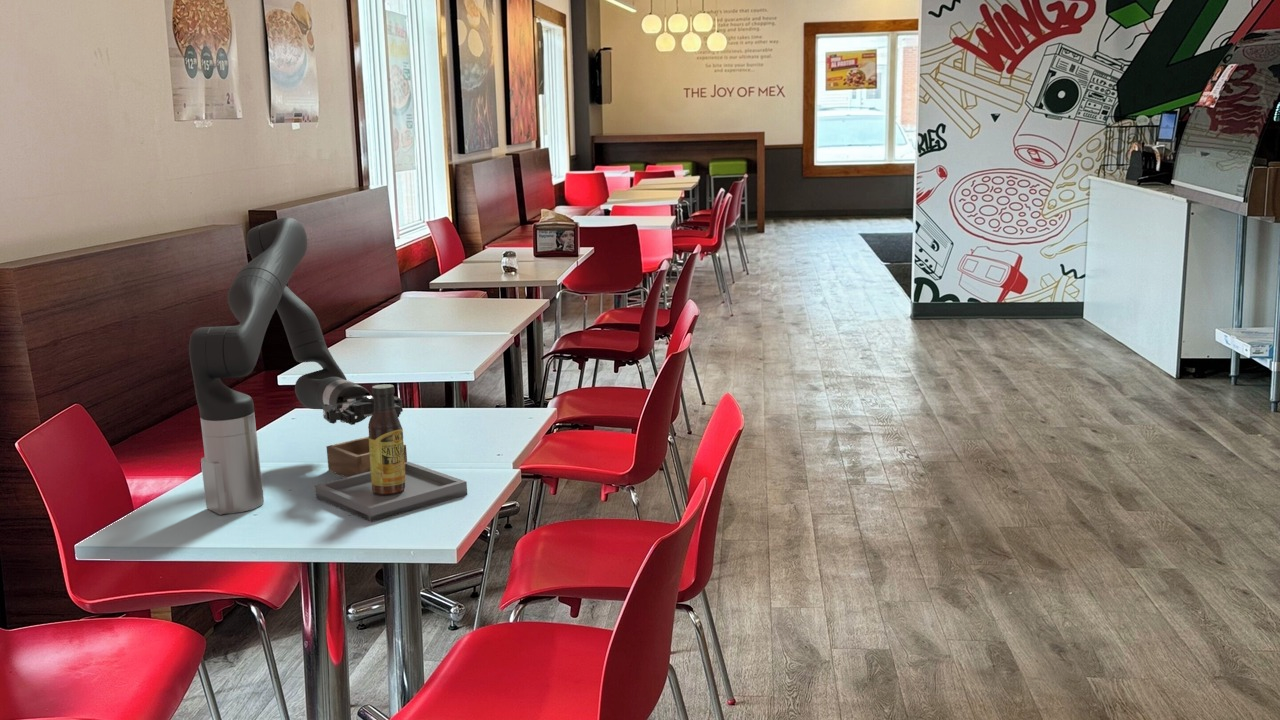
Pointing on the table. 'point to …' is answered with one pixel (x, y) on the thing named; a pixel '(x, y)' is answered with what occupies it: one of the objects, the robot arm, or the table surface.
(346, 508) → the serving tray
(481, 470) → the table surface
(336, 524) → the table surface
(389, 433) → the sauce bottle
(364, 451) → the condiment box
